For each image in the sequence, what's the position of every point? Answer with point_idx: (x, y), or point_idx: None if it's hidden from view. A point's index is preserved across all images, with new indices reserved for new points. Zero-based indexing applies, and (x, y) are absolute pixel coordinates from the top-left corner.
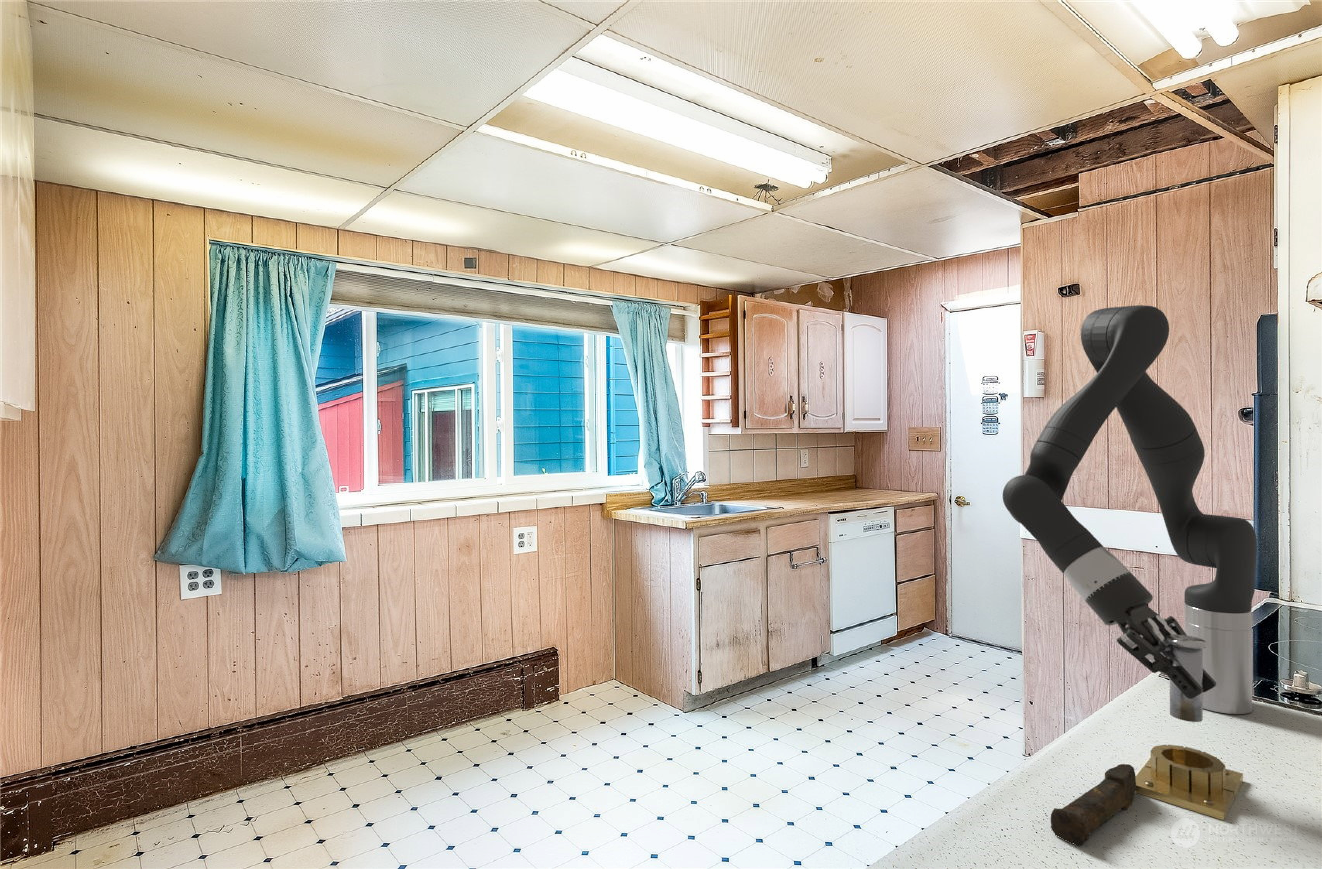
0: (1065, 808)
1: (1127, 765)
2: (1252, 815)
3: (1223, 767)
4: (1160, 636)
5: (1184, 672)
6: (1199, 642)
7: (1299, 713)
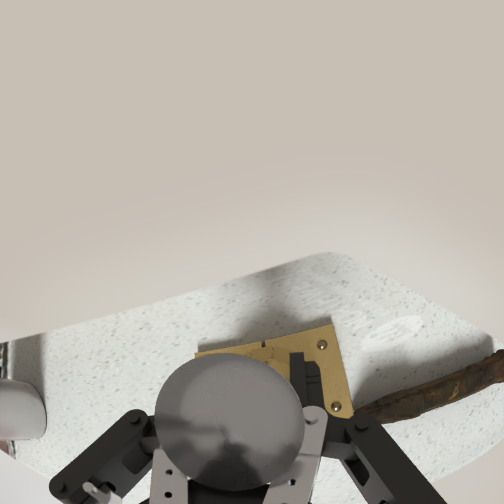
0: (500, 375)
1: (384, 414)
2: (287, 314)
3: (258, 349)
4: (288, 497)
5: (306, 392)
6: (226, 373)
7: (12, 348)
